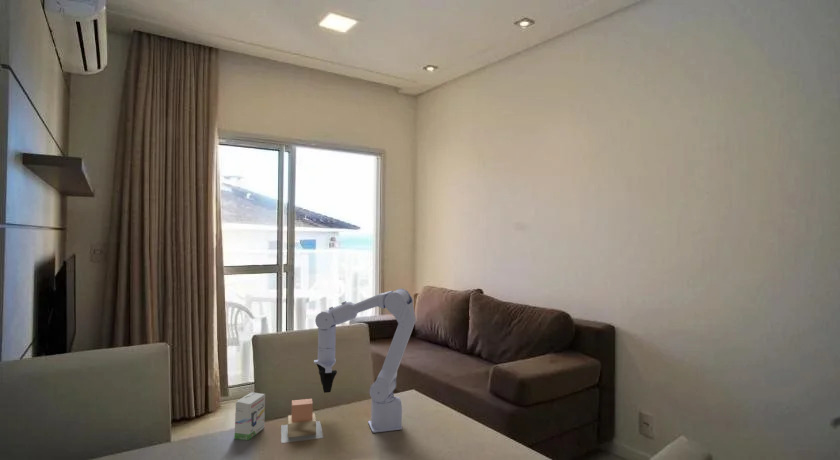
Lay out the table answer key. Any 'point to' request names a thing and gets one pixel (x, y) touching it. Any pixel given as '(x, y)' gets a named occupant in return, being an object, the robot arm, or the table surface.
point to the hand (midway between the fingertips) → (325, 387)
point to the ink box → (249, 416)
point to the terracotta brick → (302, 410)
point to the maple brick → (301, 427)
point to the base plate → (300, 438)
